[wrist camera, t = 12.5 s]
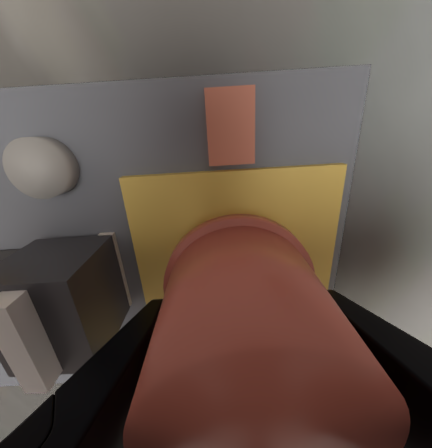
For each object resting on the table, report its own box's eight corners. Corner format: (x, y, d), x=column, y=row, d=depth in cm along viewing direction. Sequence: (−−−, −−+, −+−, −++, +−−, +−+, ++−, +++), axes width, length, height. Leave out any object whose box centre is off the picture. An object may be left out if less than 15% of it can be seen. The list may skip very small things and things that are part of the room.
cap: (302, 330, 10) (384, 511, 5) (175, 336, 10) (141, 522, 5) (316, 209, 8) (472, 326, 3) (156, 218, 8) (70, 346, 3)
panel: (313, 353, 13) (327, 384, 12) (-9, 370, 14) (-40, 403, 12) (353, 71, 8) (389, 56, 6) (-172, 105, 8) (-269, 99, 7)
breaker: (129, 307, 10) (88, 395, 7) (63, 311, 10) (-11, 400, 7) (111, 234, 9) (48, 298, 6) (35, 239, 9) (-74, 306, 6)
